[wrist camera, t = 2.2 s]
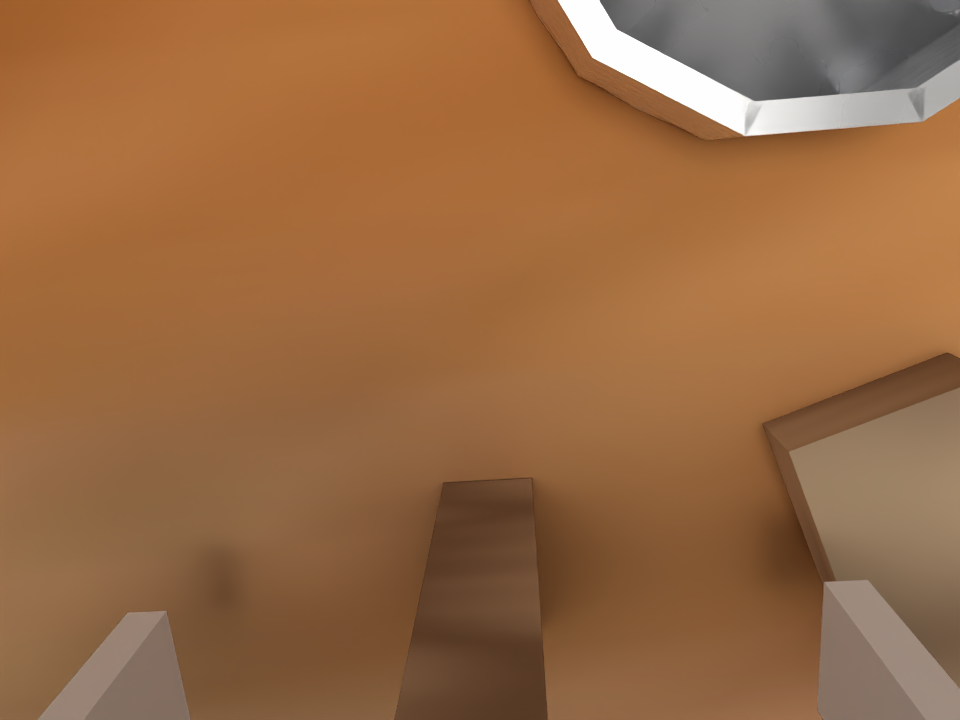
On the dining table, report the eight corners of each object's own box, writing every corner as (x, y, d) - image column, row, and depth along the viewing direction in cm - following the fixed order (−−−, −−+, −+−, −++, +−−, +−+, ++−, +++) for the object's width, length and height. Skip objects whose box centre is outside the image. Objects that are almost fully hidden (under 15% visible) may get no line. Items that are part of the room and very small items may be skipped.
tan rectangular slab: (1062, 768, 18) (1127, 839, 16) (904, 813, 19) (948, 888, 17) (935, 347, 16) (994, 373, 14) (756, 417, 16) (788, 451, 14)
